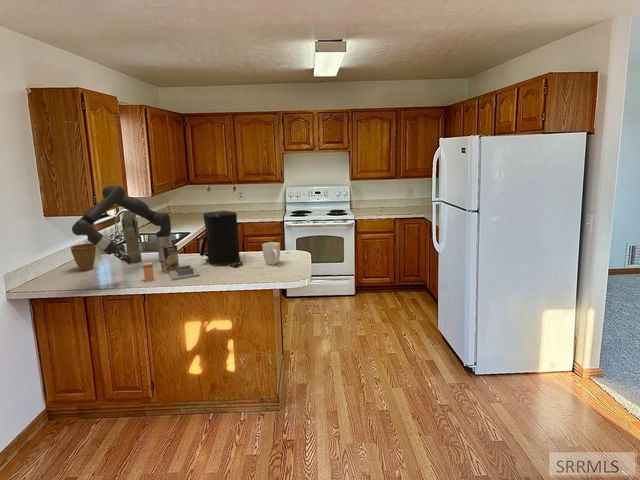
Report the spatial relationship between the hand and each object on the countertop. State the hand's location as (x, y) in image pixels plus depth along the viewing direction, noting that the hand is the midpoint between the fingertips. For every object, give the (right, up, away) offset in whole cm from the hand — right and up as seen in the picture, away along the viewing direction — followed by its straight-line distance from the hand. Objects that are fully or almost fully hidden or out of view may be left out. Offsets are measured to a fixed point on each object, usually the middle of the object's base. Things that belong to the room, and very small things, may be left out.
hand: (130, 261), depth 274 cm
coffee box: (+16, -7, +24) cm, 30 cm away
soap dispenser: (-49, -3, +56) cm, 75 cm away
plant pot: (-43, -7, +36) cm, 56 cm away
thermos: (-17, -3, +50) cm, 53 cm away
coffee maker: (+45, -3, +36) cm, 58 cm away
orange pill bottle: (+9, -11, +6) cm, 15 cm away
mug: (+80, -3, +28) cm, 85 cm away
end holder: (+27, -9, +14) cm, 32 cm away
